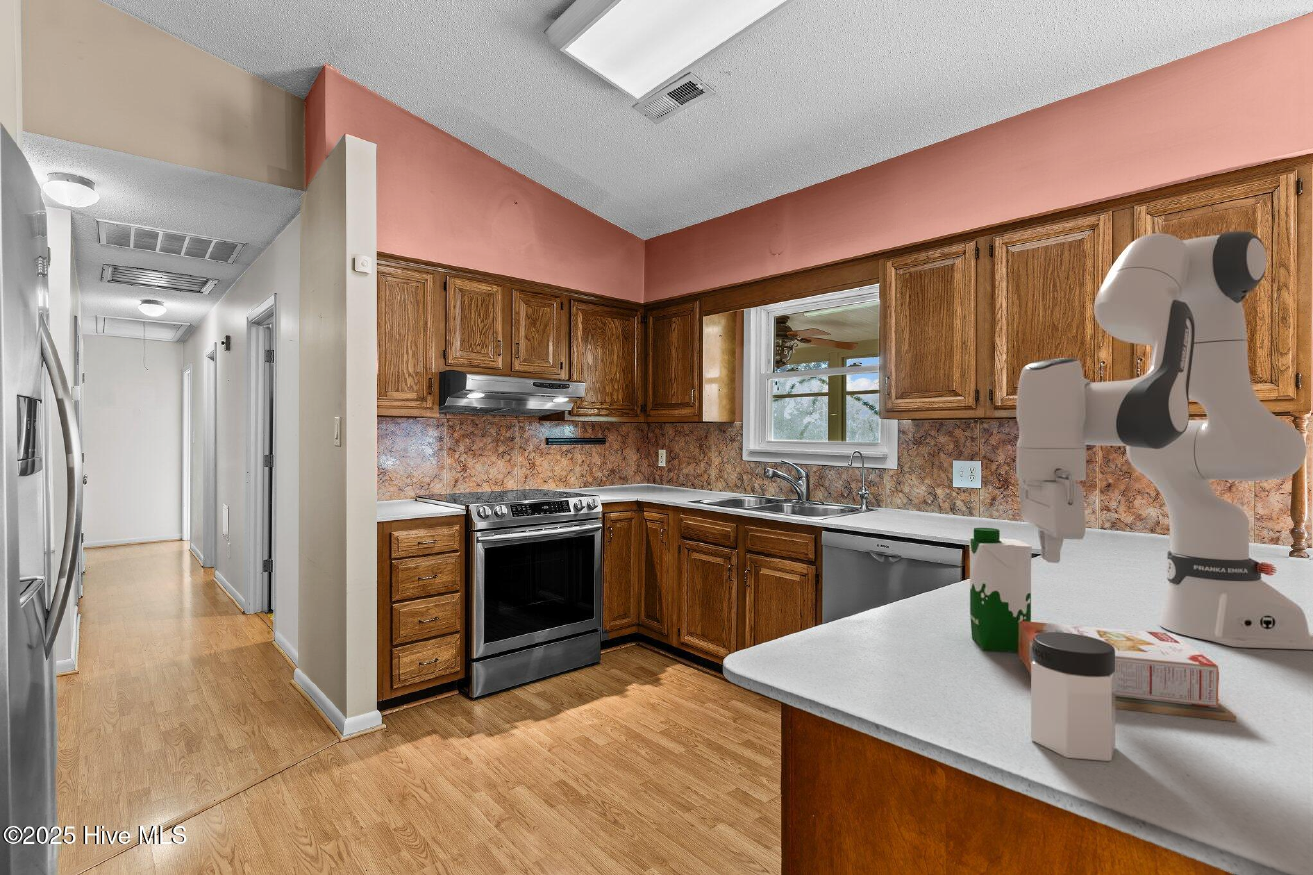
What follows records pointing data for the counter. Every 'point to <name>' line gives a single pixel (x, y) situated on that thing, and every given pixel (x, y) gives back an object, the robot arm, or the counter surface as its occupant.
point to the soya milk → (998, 589)
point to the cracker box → (1143, 663)
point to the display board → (1174, 708)
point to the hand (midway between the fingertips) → (1050, 560)
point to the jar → (1073, 695)
